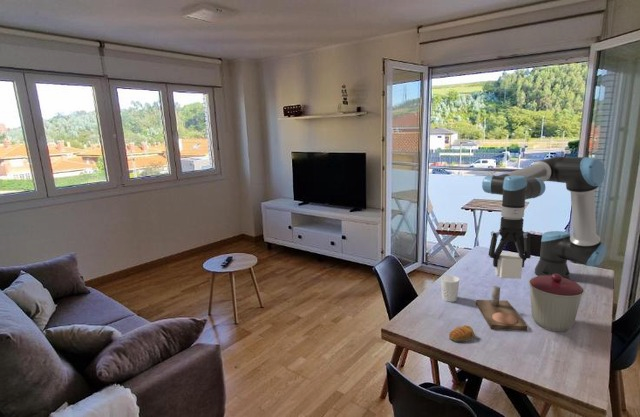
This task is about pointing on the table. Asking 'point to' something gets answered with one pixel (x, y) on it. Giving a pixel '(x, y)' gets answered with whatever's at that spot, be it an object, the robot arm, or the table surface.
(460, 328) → the pastry
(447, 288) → the white cup
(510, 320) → the board
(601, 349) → the table surface
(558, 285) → the canister
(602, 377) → the table surface
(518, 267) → the matte off-white cube
